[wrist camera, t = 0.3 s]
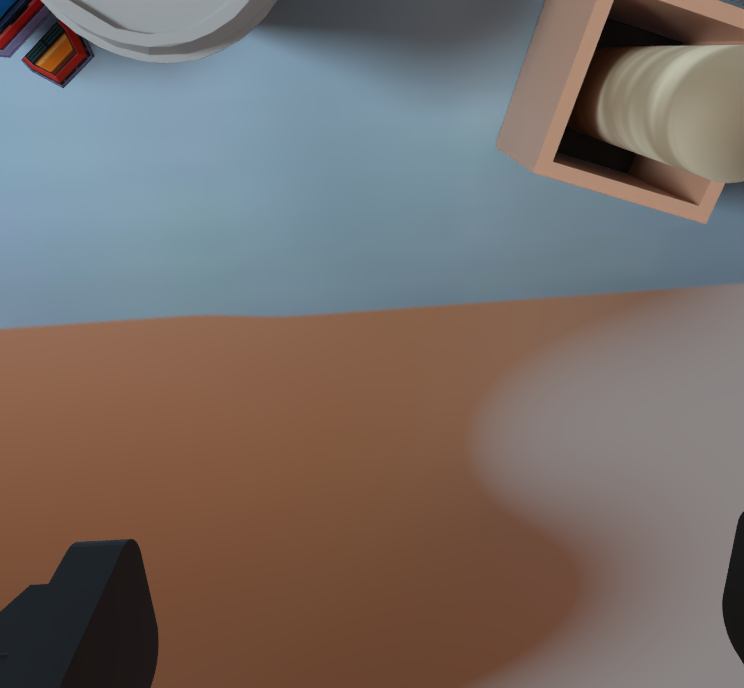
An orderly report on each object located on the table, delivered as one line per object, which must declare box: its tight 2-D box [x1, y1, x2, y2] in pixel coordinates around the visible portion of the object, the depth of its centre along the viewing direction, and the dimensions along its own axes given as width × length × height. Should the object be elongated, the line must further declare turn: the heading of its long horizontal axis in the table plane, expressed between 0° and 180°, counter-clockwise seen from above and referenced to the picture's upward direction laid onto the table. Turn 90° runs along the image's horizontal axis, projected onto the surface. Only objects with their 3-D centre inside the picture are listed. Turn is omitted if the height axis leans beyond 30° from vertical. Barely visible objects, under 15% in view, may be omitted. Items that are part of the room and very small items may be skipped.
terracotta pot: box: [495, 0, 744, 224], centre depth 30 cm, size 8×8×8 cm
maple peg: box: [566, 45, 744, 183], centre depth 28 cm, size 4×4×14 cm
